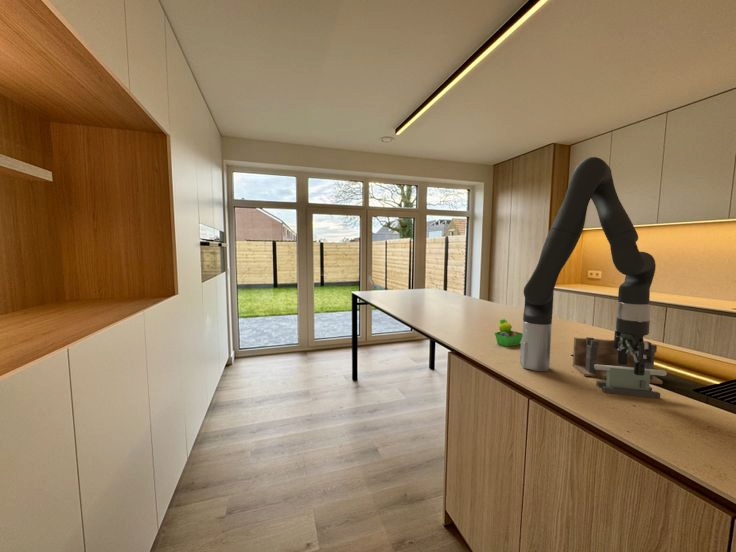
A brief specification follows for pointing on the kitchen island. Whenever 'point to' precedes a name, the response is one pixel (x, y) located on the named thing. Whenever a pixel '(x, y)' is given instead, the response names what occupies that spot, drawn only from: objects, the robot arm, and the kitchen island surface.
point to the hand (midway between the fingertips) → (630, 369)
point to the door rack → (628, 390)
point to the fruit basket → (507, 334)
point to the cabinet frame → (603, 357)
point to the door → (628, 377)
